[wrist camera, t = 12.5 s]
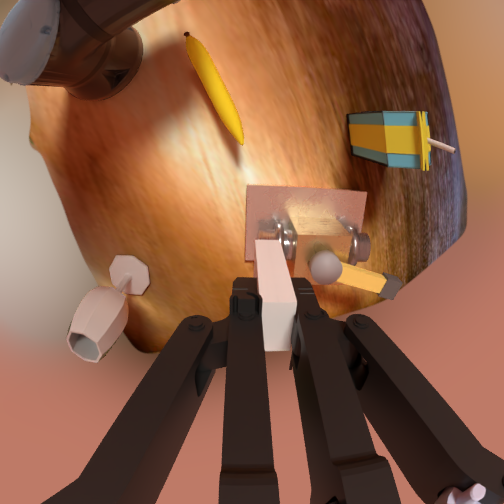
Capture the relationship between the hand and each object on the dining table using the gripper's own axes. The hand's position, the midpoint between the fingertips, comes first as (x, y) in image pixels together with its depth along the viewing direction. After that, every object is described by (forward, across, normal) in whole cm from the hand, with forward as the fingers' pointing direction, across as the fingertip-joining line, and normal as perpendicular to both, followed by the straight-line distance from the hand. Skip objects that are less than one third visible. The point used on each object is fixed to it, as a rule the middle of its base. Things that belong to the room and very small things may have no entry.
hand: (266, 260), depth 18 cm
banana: (+30, -6, +14) cm, 33 cm away
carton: (+30, +19, +9) cm, 36 cm away
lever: (+19, +15, -12) cm, 27 cm away
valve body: (+29, +9, -8) cm, 32 cm away
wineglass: (+30, -23, -18) cm, 42 cm away
